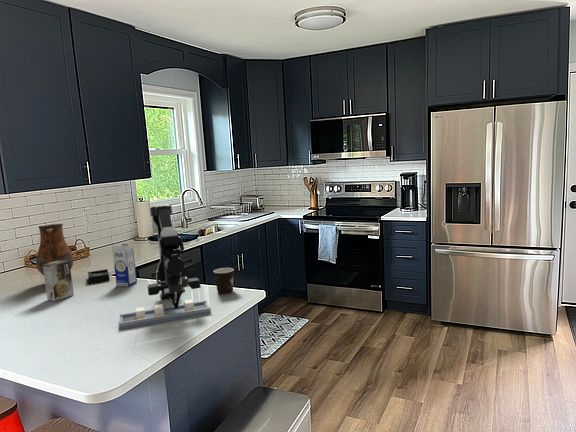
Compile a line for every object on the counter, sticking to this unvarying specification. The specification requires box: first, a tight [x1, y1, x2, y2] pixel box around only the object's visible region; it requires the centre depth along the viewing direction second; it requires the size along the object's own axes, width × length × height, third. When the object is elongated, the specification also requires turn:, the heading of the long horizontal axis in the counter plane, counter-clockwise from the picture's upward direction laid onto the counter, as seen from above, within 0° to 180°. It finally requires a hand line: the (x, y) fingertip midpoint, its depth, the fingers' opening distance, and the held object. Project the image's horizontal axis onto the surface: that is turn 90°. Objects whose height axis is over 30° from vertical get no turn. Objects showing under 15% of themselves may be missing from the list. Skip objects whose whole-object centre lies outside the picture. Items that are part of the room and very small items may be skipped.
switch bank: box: [118, 300, 212, 331], centre depth 159 cm, size 10×32×2 cm, turn 110°
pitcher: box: [35, 223, 74, 276], centre depth 214 cm, size 17×21×30 cm
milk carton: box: [111, 243, 138, 287], centre depth 206 cm, size 7×7×20 cm
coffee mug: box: [213, 267, 235, 295], centre depth 183 cm, size 12×9×10 cm
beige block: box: [135, 306, 146, 319], centre depth 156 cm, size 4×3×3 cm
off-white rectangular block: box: [153, 303, 164, 316], centre depth 158 cm, size 4×3×3 cm
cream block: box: [183, 298, 194, 311], centre depth 162 cm, size 4×3×3 cm
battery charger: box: [87, 269, 111, 285], centre depth 218 cm, size 13×10×4 cm
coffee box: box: [43, 260, 75, 302], centre depth 191 cm, size 9×6×16 cm
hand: (176, 308), depth 161 cm, fingers closed
